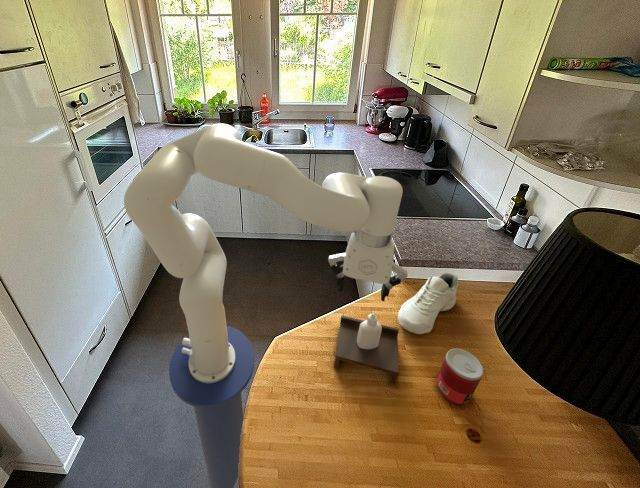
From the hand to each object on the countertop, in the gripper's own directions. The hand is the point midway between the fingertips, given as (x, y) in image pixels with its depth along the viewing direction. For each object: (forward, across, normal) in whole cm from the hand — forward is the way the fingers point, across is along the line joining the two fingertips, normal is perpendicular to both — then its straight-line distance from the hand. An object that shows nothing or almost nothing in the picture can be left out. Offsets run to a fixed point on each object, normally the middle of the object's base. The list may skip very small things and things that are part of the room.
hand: (361, 292), depth 76 cm
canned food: (+27, +27, 0) cm, 38 cm away
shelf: (+27, +5, +4) cm, 28 cm away
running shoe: (+27, +22, +25) cm, 43 cm away
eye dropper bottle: (+22, +5, +4) cm, 23 cm away
